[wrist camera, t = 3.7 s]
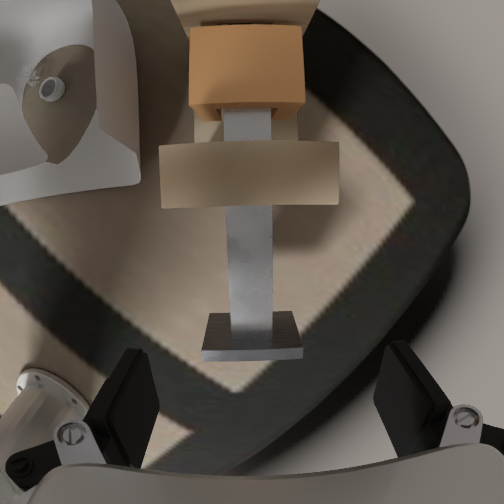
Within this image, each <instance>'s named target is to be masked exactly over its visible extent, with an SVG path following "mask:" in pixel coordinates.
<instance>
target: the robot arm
mask: <svg viewBox="0 0 504 504" xmlns="http://www.w3.org/2000/svg"><path fill="white" fill-rule="evenodd" d="M16 388H17V393H18V396H17V398H16V399H15V400H14V401H13V403H12V404H11V405H10V406H9V408H8V409H7V410H6V412H5V413H4V414H3V415H2V417H1V418H0V504H504V429H501V428H497V427H493V426H490V425H486V424H483V416H482V414H481V412H480V411H479V410H478V409H476V408H475V407H473V406H470V405H465V404H463V405H458V406H455V407H454V408H453V406H452V405H451V402H450V401H449V399H448V398H447V396H446V395H445V393H444V392H443V391H442V389H441V388H440V387H439V385H438V384H437V382H436V381H435V380H434V378H433V377H432V376H431V374H430V373H429V372H428V370H427V369H426V367H425V366H424V365H423V363H422V362H421V361H420V359H419V358H418V357H417V356H416V354H415V353H414V352H413V350H412V349H411V348H410V346H409V345H408V344H407V342H406V341H405V340H400V341H393V342H391V343H390V344H389V346H386V348H385V352H384V356H383V360H382V365H381V369H380V373H379V377H378V381H377V385H376V388H375V392H374V397H373V400H374V404H375V406H376V408H377V410H378V413H379V415H380V417H381V419H382V422H383V424H384V426H385V428H386V431H387V433H388V435H389V437H390V440H391V442H392V444H393V447H394V449H395V451H396V454H397V456H398V458H395V459H390V460H386V461H382V462H376V463H372V464H367V465H361V466H356V467H350V468H344V469H338V470H330V471H322V472H313V473H303V474H291V475H275V476H211V475H195V474H183V473H173V472H163V471H155V470H147V469H140V468H141V465H142V462H143V459H144V455H145V452H146V449H147V446H148V443H149V440H150V436H151V433H152V430H153V427H154V424H155V421H156V418H157V415H158V412H159V399H158V396H157V392H156V388H155V384H154V380H153V376H152V372H151V368H150V364H149V360H148V356H147V353H143V351H142V349H135V348H127V349H126V351H125V352H124V354H123V356H122V357H121V359H120V361H119V362H118V364H117V366H116V367H115V369H114V371H113V372H112V374H111V376H110V378H107V379H106V380H105V382H104V384H103V385H102V387H101V389H100V391H99V392H98V394H97V396H96V397H95V399H94V401H93V403H92V404H91V406H90V407H89V405H88V404H87V402H86V401H85V400H84V399H83V397H82V396H81V395H80V394H79V393H78V392H77V391H76V390H75V389H74V388H72V387H71V386H70V385H69V384H68V383H66V382H65V381H63V380H62V379H61V378H59V377H57V376H55V375H54V374H52V373H49V372H47V371H44V370H41V369H34V368H30V369H26V370H25V371H23V372H22V373H21V374H20V375H19V377H18V379H17V381H16Z"/></svg>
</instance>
